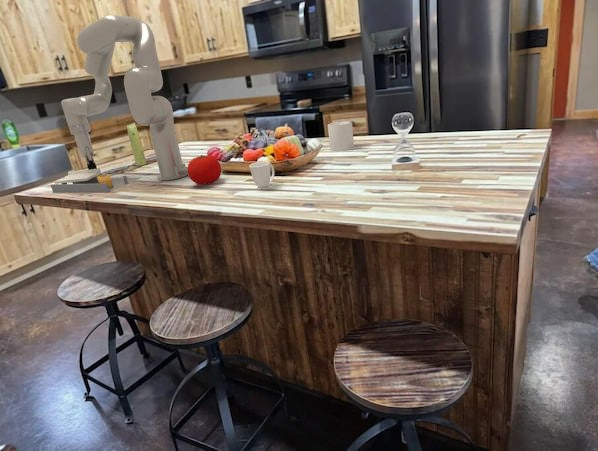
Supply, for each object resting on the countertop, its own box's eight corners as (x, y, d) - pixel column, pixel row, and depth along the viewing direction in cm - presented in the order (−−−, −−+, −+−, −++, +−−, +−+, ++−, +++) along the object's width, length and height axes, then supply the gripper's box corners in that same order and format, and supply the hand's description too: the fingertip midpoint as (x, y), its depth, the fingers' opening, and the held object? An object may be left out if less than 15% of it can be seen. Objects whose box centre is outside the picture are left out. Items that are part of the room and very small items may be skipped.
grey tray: (143, 177, 176) (140, 169, 175) (108, 193, 160) (105, 184, 159) (90, 179, 188) (88, 171, 187) (53, 193, 171) (50, 184, 170)
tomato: (228, 178, 158) (222, 150, 154) (213, 188, 147) (207, 158, 143) (201, 179, 161) (195, 152, 157) (185, 189, 150) (178, 160, 147)
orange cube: (115, 185, 168) (111, 173, 166) (108, 189, 164) (104, 177, 162) (105, 186, 169) (101, 174, 167) (98, 190, 165) (94, 178, 163)
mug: (325, 147, 187) (322, 123, 183) (346, 143, 189) (344, 119, 185) (334, 152, 175) (331, 126, 171) (357, 148, 177) (355, 122, 173)
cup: (248, 190, 139) (244, 166, 136) (267, 181, 146) (263, 158, 143) (265, 191, 135) (261, 167, 132) (283, 182, 143) (279, 159, 140)
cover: (103, 180, 178) (99, 168, 176) (89, 188, 169) (85, 175, 167) (71, 184, 180) (66, 171, 178) (55, 191, 171) (50, 178, 169)
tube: (148, 164, 203) (137, 123, 196) (137, 166, 200) (126, 125, 193) (145, 162, 207) (134, 122, 200) (135, 165, 205) (123, 124, 198)
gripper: (69, 129, 177) (82, 172, 184) (71, 132, 165) (86, 177, 172) (88, 126, 181) (101, 168, 187) (91, 128, 168) (105, 173, 175)
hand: (93, 172), depth 180 cm, fingers closed
